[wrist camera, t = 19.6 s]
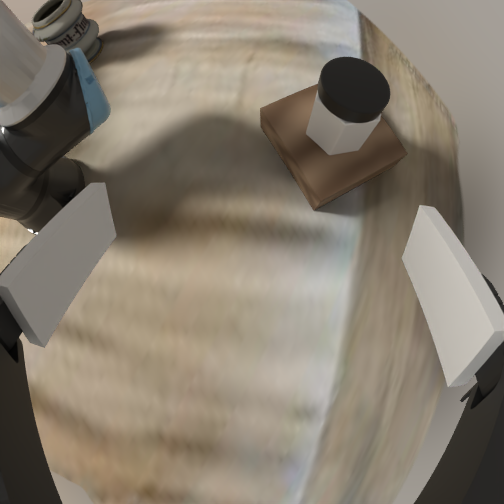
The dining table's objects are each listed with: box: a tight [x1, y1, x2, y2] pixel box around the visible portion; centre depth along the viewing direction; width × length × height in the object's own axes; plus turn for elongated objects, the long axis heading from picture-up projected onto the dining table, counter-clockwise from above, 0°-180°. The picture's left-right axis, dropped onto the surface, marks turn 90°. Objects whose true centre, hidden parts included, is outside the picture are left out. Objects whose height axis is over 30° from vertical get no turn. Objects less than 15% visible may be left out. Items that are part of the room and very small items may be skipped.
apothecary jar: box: [32, 0, 103, 64], centre depth 41 cm, size 12×12×18 cm
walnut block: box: [260, 84, 408, 210], centre depth 43 cm, size 16×16×6 cm
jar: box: [306, 57, 390, 155], centre depth 34 cm, size 9×8×12 cm
